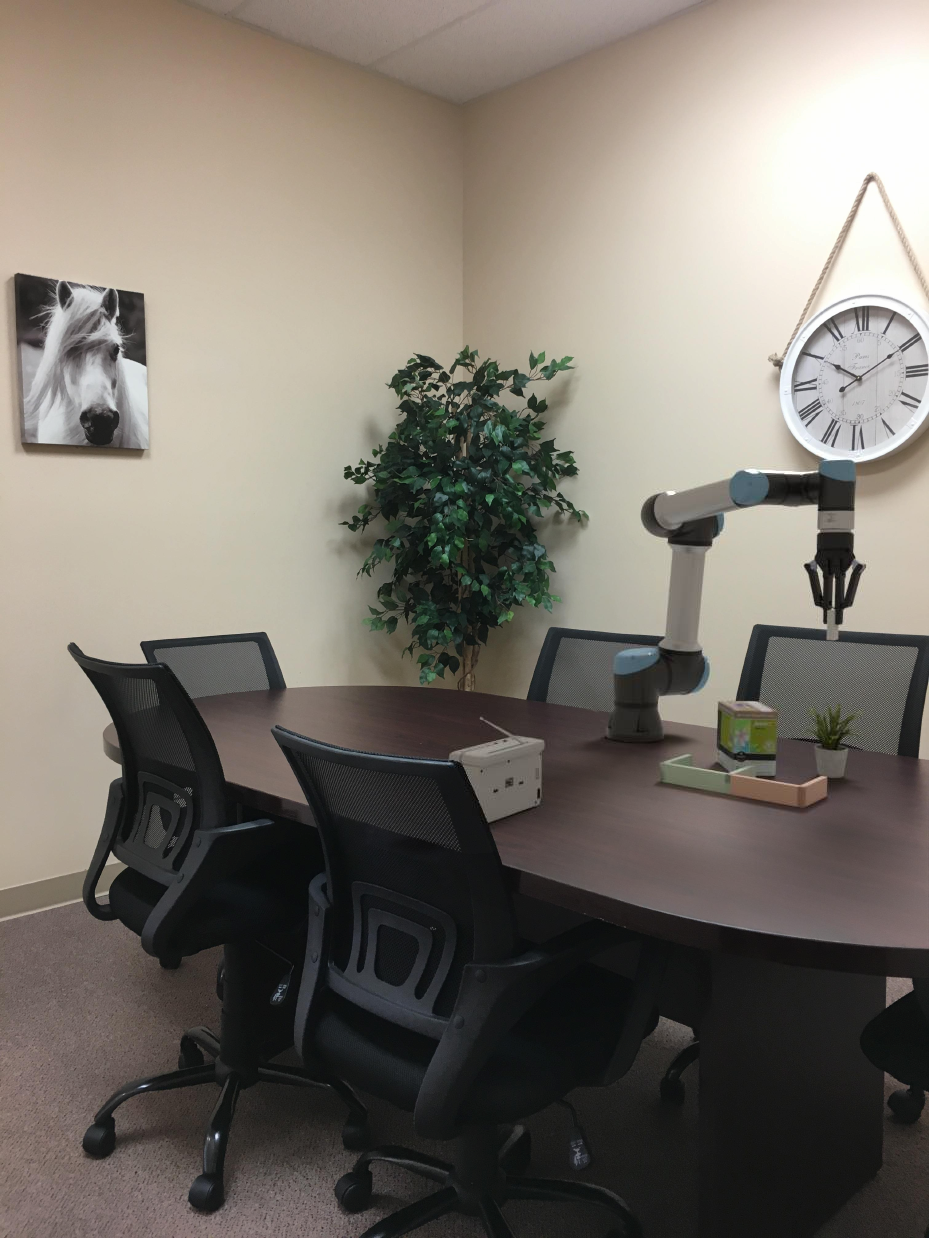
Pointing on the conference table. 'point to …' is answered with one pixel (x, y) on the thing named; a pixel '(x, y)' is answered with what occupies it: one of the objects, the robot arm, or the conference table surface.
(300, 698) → the conference table surface
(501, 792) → the stereo radio cassette player
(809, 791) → the terracotta bay
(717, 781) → the green bay
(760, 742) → the tea box
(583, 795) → the conference table surface
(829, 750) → the house plant
